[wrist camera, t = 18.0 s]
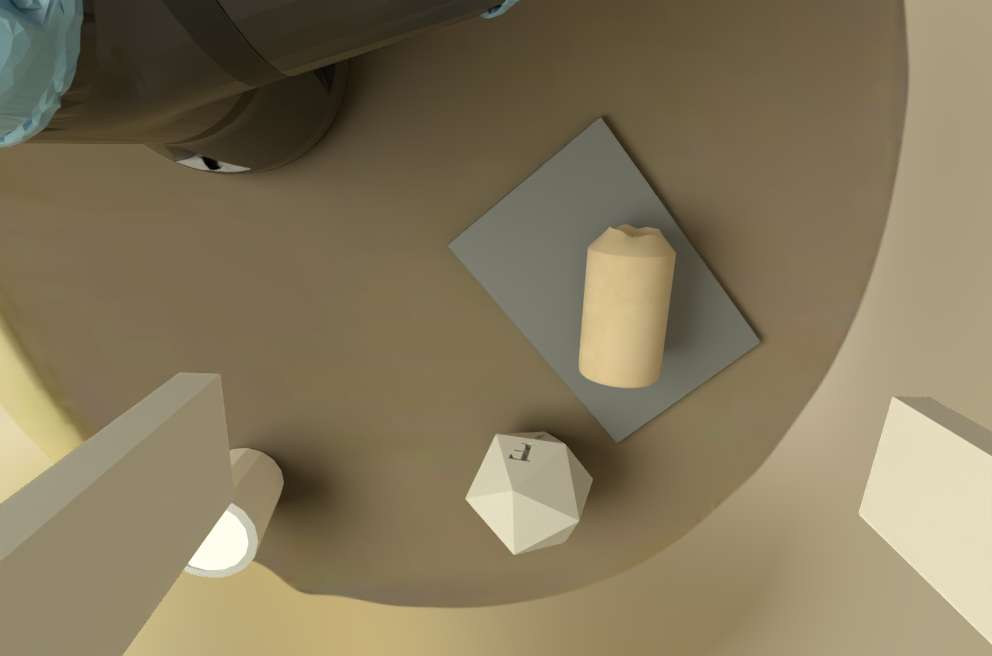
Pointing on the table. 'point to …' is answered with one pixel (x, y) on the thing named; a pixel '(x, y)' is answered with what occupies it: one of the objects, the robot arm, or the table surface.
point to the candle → (626, 307)
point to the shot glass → (241, 516)
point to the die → (530, 490)
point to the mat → (562, 270)
